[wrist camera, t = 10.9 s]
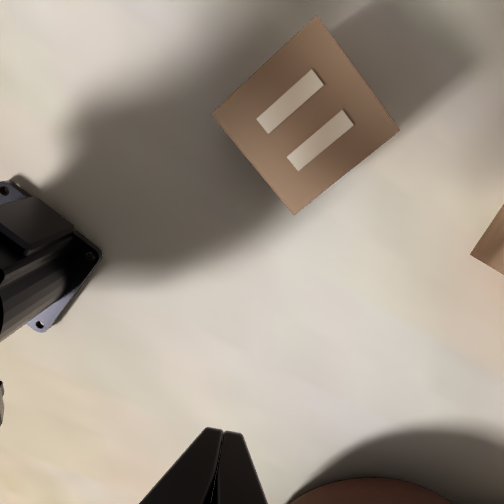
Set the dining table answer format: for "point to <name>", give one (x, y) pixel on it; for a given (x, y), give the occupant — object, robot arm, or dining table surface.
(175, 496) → the robot arm
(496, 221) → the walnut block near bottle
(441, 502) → the dish
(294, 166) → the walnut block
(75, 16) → the dining table surface
